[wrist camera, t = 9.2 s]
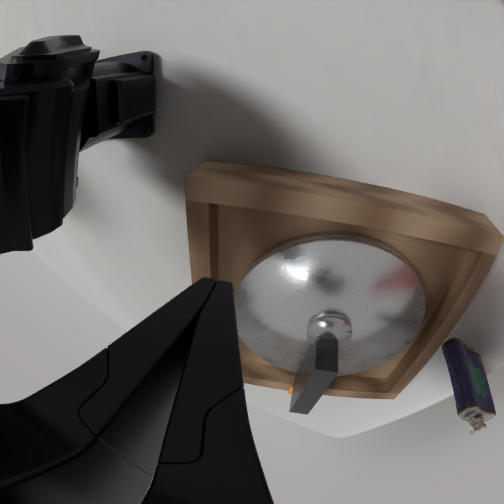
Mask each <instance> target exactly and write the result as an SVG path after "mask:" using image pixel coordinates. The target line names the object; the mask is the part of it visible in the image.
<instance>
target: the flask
mask: <svg viewBox="0 0 504 504" xmlns="http://www.w3.org/2000/svg"><path fill="white" fill-rule="evenodd" d="M442 350H443V354H444V356H445V359H446V363H447V366H448V370H449V374H450V378H451V382H452V387H453V391H454V397H455V400H456V407H457V414H458V415H459V416H460V417H461V418H462V419H463V420H465V421H469V424H470V425H471V426H473V427H474V431H479V430H480V429H482V428H485V427H486V424H485V423H483V422H485V421H488V420H489V419H491V418H492V417H494V416H495V415H496V411H495V407H494V403H493V399H492V395H491V392H490V388H489V384H488V380H487V377H486V373H485V369H484V366H483V363H482V359H481V357H480V355H479V354H478V353H477V354H476V353H475V352H474V351H473V350H472V349H471V348H467V347H466V345H463V344H462V341H461V340H460V339H459V338H450V339H449V340H448V341H446V342H445V343H444V344H443V345H442ZM474 431H473V432H470V434H474Z"/></svg>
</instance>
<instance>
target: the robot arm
mask: <svg viewBox="0 0 504 504" xmlns="http://www.w3.org/2000/svg"><path fill="white" fill-rule="evenodd" d="M91 48H92V47H89V46H85V45H84V44H83V42H82V40H81V37H80V36H79V35H61V36H50V37H45V38H41V39H38V40H34V41H31V42H30V43H29V44H28V45H27V46H26V47H21V48H18V49H17V50H15V51H13V52H11V53H10V54H8V55H6V56H4V57H3V58H1V59H0V254H2V253H6V252H10V251H30V250H32V249H33V242H32V240H33V239H37V238H39V237H41V236H44V235H46V234H48V233H51V232H52V231H54V230H55V229H57V228H58V227H60V226H61V225H62V223H63V218H64V217H65V216H66V215H67V213H68V212H69V211H70V210H71V208H72V207H73V204H74V201H75V197H76V187H77V186H78V177H77V169H78V157H79V152H81V151H83V150H85V149H87V148H89V147H91V146H93V145H95V144H97V143H99V142H102V141H104V140H106V139H109V138H147V137H150V136H151V135H153V133H154V111H155V77H154V76H153V64H154V56H153V53H152V52H150V51H142V52H136V53H130V54H125V55H120V56H115V57H110V58H106V59H101V60H98V57H99V53H100V50H94V49H91ZM145 55H147V56H148V58H147V60H145V59H144V57H145ZM96 60H97V61H96ZM146 128H148V130H149V133H147V132H146ZM152 476H154V477H152ZM152 479H153V480H152ZM151 481H152V482H151ZM150 484H151V485H150ZM149 486H150V488H149ZM148 488H149V490H148ZM147 491H148V492H147ZM146 493H147V494H146ZM0 504H274V502H273V499H272V497H271V494H270V491H269V488H268V485H267V482H266V479H265V476H264V472H263V469H262V467H261V463H260V460H259V457H258V453H257V450H256V447H255V444H254V440H253V436H252V432H251V428H250V424H249V418H248V413H247V407H246V399H245V390H244V383H243V375H242V366H241V357H240V348H239V339H238V329H237V320H236V310H235V300H234V289H233V283H232V282H228V281H223V280H219V281H217V280H216V279H212V278H207V277H202V278H200V279H199V280H198V281H196V282H195V283H193V284H192V285H191V286H189V287H188V288H187V289H185V290H184V291H182V292H181V293H180V294H178V295H177V296H176V297H174V298H173V299H171V300H170V301H169V302H167V303H166V304H165V305H163V306H162V307H161V308H159V309H158V310H156V311H155V312H154V313H152V314H151V315H150V316H148V317H147V318H145V319H144V320H143V321H141V322H140V323H139V324H137V325H136V326H135V327H133V328H132V329H130V330H129V331H128V332H126V333H125V334H124V335H122V336H121V337H120V338H118V339H117V340H116V341H114V342H113V343H112V344H110V345H109V346H108V349H107V348H105V349H103V350H102V351H101V352H99V353H98V354H96V355H95V356H94V357H92V358H91V359H89V360H88V361H87V362H85V363H84V364H82V365H81V366H79V367H78V368H76V369H75V370H73V371H71V372H70V373H68V374H67V375H65V376H63V377H62V378H60V379H58V380H57V381H55V382H53V383H52V384H50V385H48V386H46V387H45V388H43V389H41V390H39V391H38V392H36V393H34V394H32V395H31V396H29V397H27V398H25V399H23V400H20V401H17V402H14V403H9V404H0Z"/></svg>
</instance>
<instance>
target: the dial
mask: <svg viewBox="0 0 504 504" xmlns="http://www.w3.org/2000/svg"><path fill="white" fill-rule="evenodd" d="M234 300H235V310H236V320H237V329H238V334H239V336H240V338H241V339H242V341H243V342H244V343H245V344H246V346H247V347H248V348H249V349H250V350H251V351H252V352H254V353H255V354H256V355H257V356H259V357H260V358H262V359H263V360H265V361H267V362H268V363H270V364H272V365H274V366H276V367H279V368H281V369H284V370H287V371H290V372H294V373H296V375H295V377H294V383H293V391H292V398H291V405H290V412H294V413H301V414H308V413H309V412H310V411H311V409H312V408H313V407H314V405H315V404H316V403H317V401H318V400H319V399H320V397H321V396H322V395H323V393H324V392H325V391H326V389H327V388H328V386H329V385H330V384H331V382H332V381H333V379H334V378H335V376H344V375H350V374H355V373H359V372H363V371H366V370H369V369H372V368H374V367H377V366H379V365H381V364H383V363H385V362H387V361H388V360H390V359H392V358H393V357H395V356H396V355H397V354H399V353H400V352H401V351H402V350H403V349H404V348H406V347H407V346H408V344H409V343H410V342H411V341H412V340H413V339H414V337H415V335H416V334H417V332H418V331H419V329H420V326H421V324H422V321H423V318H424V314H425V296H424V292H423V289H422V286H421V283H420V280H419V278H418V275H417V273H416V271H415V269H414V268H413V266H412V265H411V264H410V262H409V261H408V260H407V258H405V257H404V256H403V255H402V254H401V253H400V252H399V251H398V250H396V249H395V248H393V247H392V246H390V245H389V244H387V243H385V242H382V241H380V240H378V239H376V238H373V237H370V236H366V235H363V234H358V233H352V232H342V231H326V232H315V233H310V234H304V235H300V236H297V237H294V238H291V239H288V240H285V241H283V242H281V243H279V244H277V245H274V246H273V247H271V248H270V249H268V250H267V251H265V252H263V253H262V254H261V255H260V256H259V257H257V258H256V259H255V260H254V261H253V262H252V263H251V264H250V266H249V267H248V268H247V269H246V271H245V272H244V274H243V276H242V277H241V279H240V282H239V284H238V287H237V290H236V293H235V296H234Z"/></svg>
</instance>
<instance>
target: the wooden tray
mask: <svg viewBox="0 0 504 504" xmlns="http://www.w3.org/2000/svg"><path fill="white" fill-rule="evenodd" d="M185 197H186V214H187V229H188V242H189V254H190V266H191V276H192V284H193V283H195V282H196V281H198V280H199V279H200V278H202V277H207V278H212V279H216V280H217V281H219V280H223V281H228V282H232V283H233V289H234V296H235V293H236V290H237V287H238V284H239V282H240V279H241V277H242V276H243V274H244V272H245V271H246V269H247V268H248V267H249V266H250V264H251V263H252V262H253V261H254V260H255V259H256V258H257V257H259V256H260V255H261V254H262V253H263V252H265V251H267V250H268V249H270V248H271V247H273V246H274V245H277V244H279V243H281V242H283V241H285V240H288V239H291V238H294V237H297V236H300V235H304V234H310V233H315V232H326V231H342V232H352V233H358V234H363V235H366V236H370V237H373V238H376V239H378V240H380V241H382V242H385V243H387V244H389V245H390V246H392V247H393V248H395V249H396V250H398V251H399V252H400V253H401V254H402V255H403V256H404V257H405V258H407V260H408V261H409V262H410V264H411V265H412V266H413V268H414V269H415V271H416V273H417V275H418V278H419V280H420V283H421V286H422V289H423V292H424V296H425V314H424V318H423V321H422V324H421V326H420V329H419V331H418V332H417V334H416V335H415V337H414V339H413V340H412V341H411V342H410V343H409V344H408V346H407V347H406V348H404V349H403V350H402V351H401V352H400V353H399V354H397V355H396V356H395V357H393V358H392V359H390V360H388V361H387V362H385V363H383V364H381V365H379V366H377V367H374V368H372V369H369V370H366V371H363V372H359V373H355V374H350V375H344V376H335V378H334V379H333V381H332V382H331V384H330V385H329V386H328V388H327V389H326V391H325V392H324V393H323V395H329V396H341V397H354V398H372V399H395V398H396V397H397V396H398V395H399V393H400V392H401V391H402V390H403V389H404V388H405V387H406V386H407V385H408V384H409V383H410V382H411V380H412V379H413V378H414V377H415V376H416V375H417V374H418V372H419V371H420V370H421V369H422V368H423V367H424V365H425V364H426V363H427V362H428V360H429V359H430V358H431V357H432V356H433V354H434V353H435V352H436V350H437V349H438V348H439V347H440V345H441V344H442V343H443V341H444V340H445V339H446V337H447V336H448V335H449V333H450V332H451V330H452V329H453V328H454V326H455V325H456V323H457V322H458V320H459V319H460V317H461V316H462V314H463V313H464V311H465V310H466V308H467V307H468V305H469V304H470V302H471V300H472V299H473V297H474V296H475V294H476V292H477V291H478V289H479V287H480V285H481V284H482V282H483V280H484V278H485V277H486V275H487V273H488V271H489V269H490V268H491V266H492V264H493V262H494V260H495V258H496V256H497V254H498V252H499V250H500V248H501V246H502V244H503V241H504V237H503V235H502V234H501V233H500V232H499V230H498V229H497V228H496V227H495V226H494V225H493V223H492V222H491V221H490V220H489V219H488V218H487V217H486V215H484V214H481V213H478V212H475V211H472V210H469V209H465V208H462V207H459V206H455V205H452V204H449V203H445V202H441V201H438V200H434V199H430V198H427V197H423V196H419V195H415V194H411V193H407V192H403V191H398V190H394V189H390V188H385V187H381V186H376V185H372V184H367V183H362V182H357V181H352V180H347V179H341V178H336V177H330V176H324V175H318V174H312V173H306V172H299V171H293V170H286V169H278V168H271V167H263V166H254V165H246V164H236V163H226V162H215V161H203V162H202V163H201V164H200V165H199V166H197V167H196V168H195V169H194V170H193V171H192V172H191V173H189V174H188V175H187V176H186V177H185ZM238 339H239V348H240V357H241V366H242V375H243V383H247V384H253V385H258V386H264V387H269V388H275V389H282V390H288V394H292V391H293V383H294V377H295V375H296V373H294V372H290V371H287V370H284V369H281V368H279V367H276V366H274V365H272V364H270V363H268V362H267V361H265V360H263V359H262V358H260V357H259V356H257V355H256V354H255V353H254V352H252V351H251V350H250V349H249V348H248V347H247V346H246V344H245V343H244V342H243V341H242V339H241V338H240V336H239V334H238Z"/></svg>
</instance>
